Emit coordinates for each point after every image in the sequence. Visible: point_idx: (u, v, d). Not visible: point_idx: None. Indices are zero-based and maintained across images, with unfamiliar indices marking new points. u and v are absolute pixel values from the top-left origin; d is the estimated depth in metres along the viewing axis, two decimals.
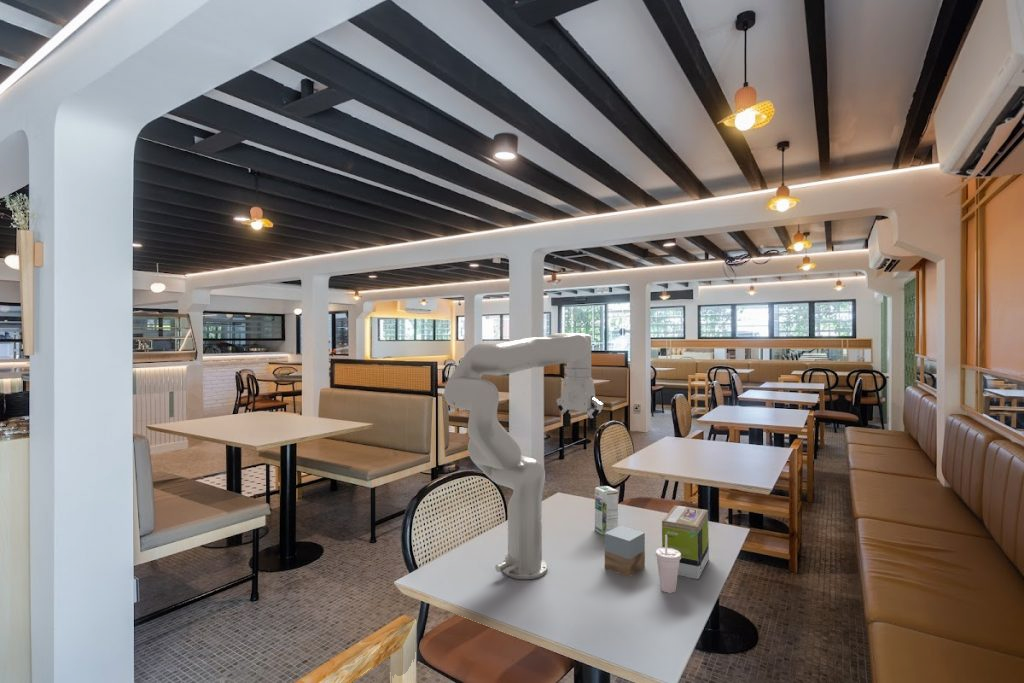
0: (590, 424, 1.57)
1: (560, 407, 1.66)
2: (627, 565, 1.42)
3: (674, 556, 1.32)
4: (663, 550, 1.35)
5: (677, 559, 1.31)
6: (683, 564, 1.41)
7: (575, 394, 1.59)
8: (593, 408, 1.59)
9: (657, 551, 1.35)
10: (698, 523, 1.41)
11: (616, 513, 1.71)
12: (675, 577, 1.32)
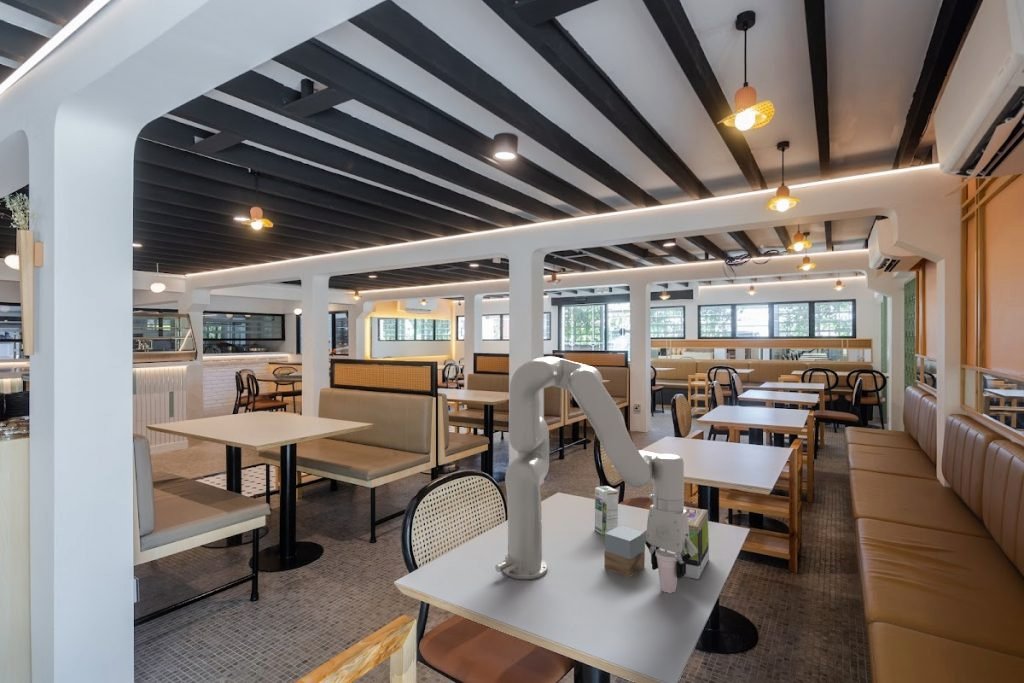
0: (679, 570, 1.31)
1: (648, 544, 1.37)
2: (627, 565, 1.42)
3: (674, 556, 1.32)
4: (663, 550, 1.35)
5: (677, 559, 1.31)
6: None
7: (665, 530, 1.32)
8: (687, 547, 1.32)
9: (657, 551, 1.35)
10: (698, 523, 1.41)
11: (616, 513, 1.71)
12: (675, 577, 1.32)
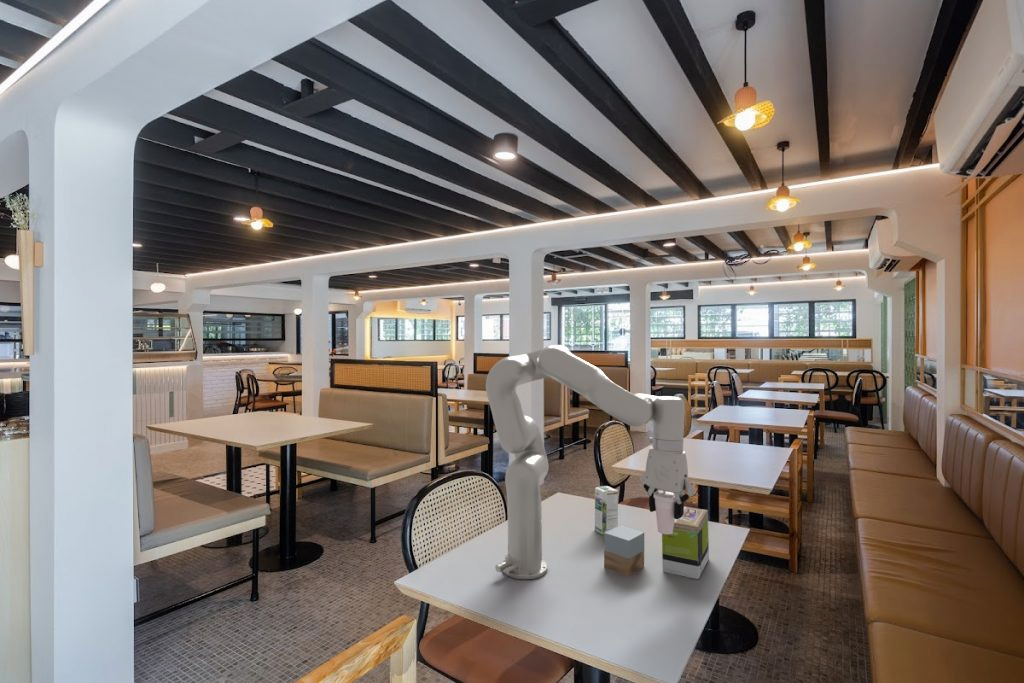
0: (677, 511, 1.31)
1: (646, 486, 1.37)
2: (626, 564, 1.42)
3: (672, 497, 1.32)
4: (661, 492, 1.35)
5: (675, 500, 1.31)
6: (683, 564, 1.41)
7: (664, 471, 1.31)
8: (685, 488, 1.31)
9: (655, 493, 1.35)
10: (698, 523, 1.41)
11: (616, 513, 1.71)
12: (673, 518, 1.32)
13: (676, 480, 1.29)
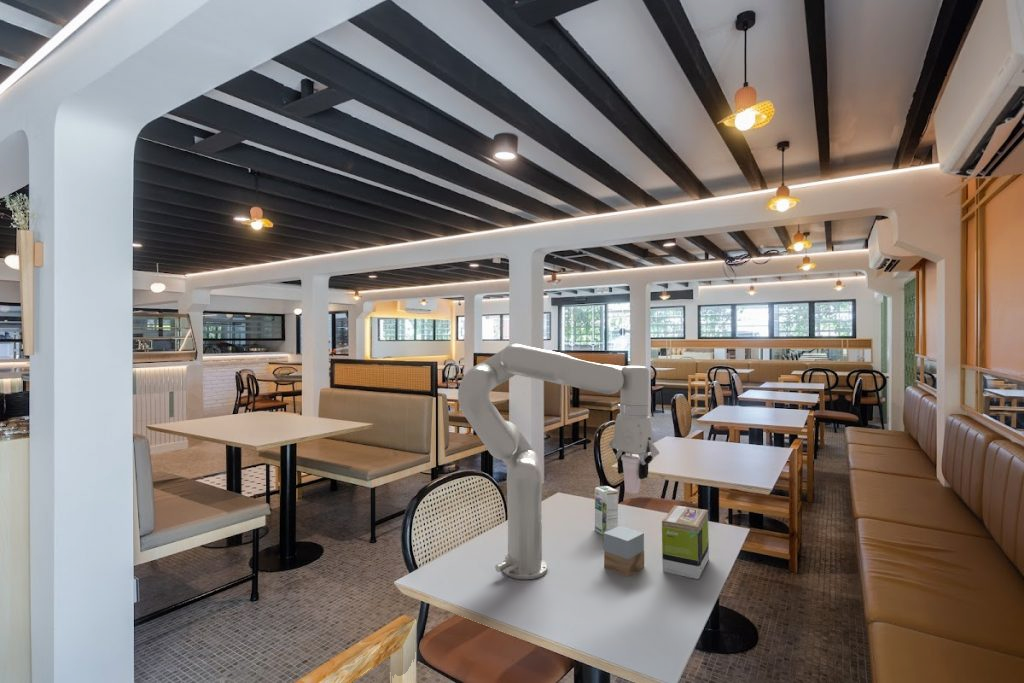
0: (642, 471, 1.40)
1: (615, 450, 1.47)
2: (626, 565, 1.42)
3: (638, 459, 1.41)
4: (628, 455, 1.45)
5: (640, 461, 1.41)
6: (683, 564, 1.41)
7: (629, 434, 1.41)
8: (650, 451, 1.41)
9: (623, 456, 1.45)
10: (698, 523, 1.41)
11: (616, 513, 1.71)
12: (638, 478, 1.42)
13: (640, 442, 1.39)
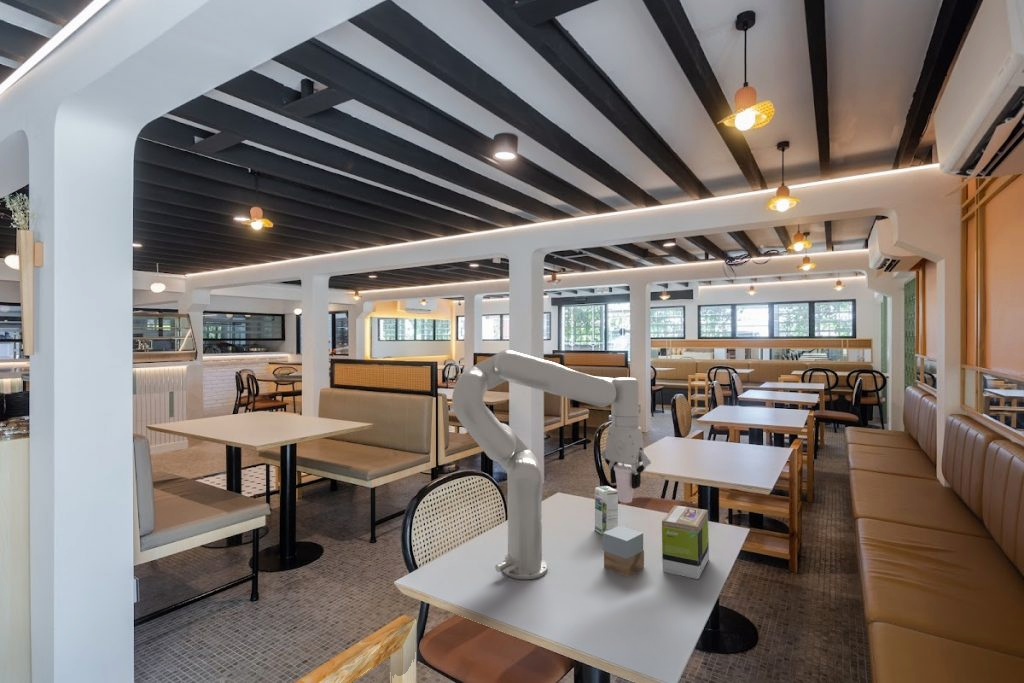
0: (634, 481, 1.43)
1: (607, 461, 1.50)
2: (626, 565, 1.42)
3: (630, 468, 1.44)
4: (621, 465, 1.47)
5: (632, 471, 1.44)
6: (683, 564, 1.41)
7: (621, 445, 1.44)
8: (641, 460, 1.44)
9: (615, 466, 1.47)
10: (698, 523, 1.41)
11: (616, 513, 1.71)
12: (631, 488, 1.45)
13: (632, 453, 1.42)
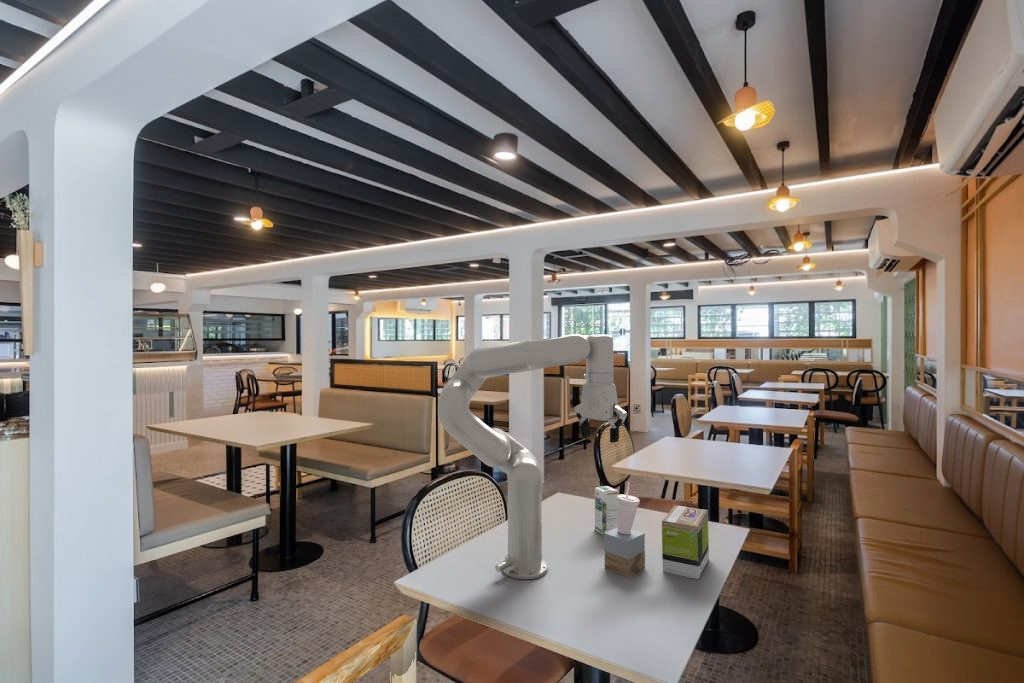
0: (612, 435, 1.42)
1: (578, 415, 1.51)
2: (627, 565, 1.42)
3: (631, 501, 1.44)
4: (624, 495, 1.48)
5: (633, 504, 1.44)
6: (683, 564, 1.41)
7: (596, 401, 1.44)
8: (615, 417, 1.44)
9: (619, 495, 1.48)
10: (698, 523, 1.41)
11: (616, 513, 1.71)
12: (630, 520, 1.45)
13: (606, 408, 1.42)
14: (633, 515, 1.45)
